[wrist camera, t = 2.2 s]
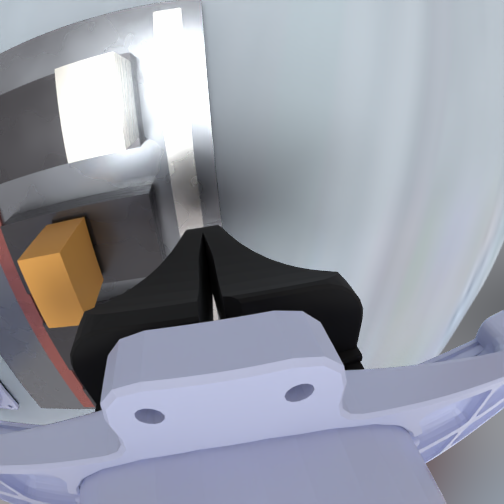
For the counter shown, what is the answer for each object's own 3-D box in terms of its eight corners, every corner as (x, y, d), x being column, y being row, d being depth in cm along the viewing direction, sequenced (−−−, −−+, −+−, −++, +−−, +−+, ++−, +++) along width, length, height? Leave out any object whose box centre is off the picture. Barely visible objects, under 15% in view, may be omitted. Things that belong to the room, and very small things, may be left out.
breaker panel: (43, 397, 21) (31, 449, 16) (-76, 107, 8) (-135, 126, 4) (241, 381, 23) (256, 442, 18) (200, 4, 11) (208, -42, 6)
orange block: (68, 284, 13) (48, 328, 10) (46, 225, 12) (17, 260, 9) (103, 279, 14) (88, 324, 11) (84, 216, 12) (59, 252, 9)
